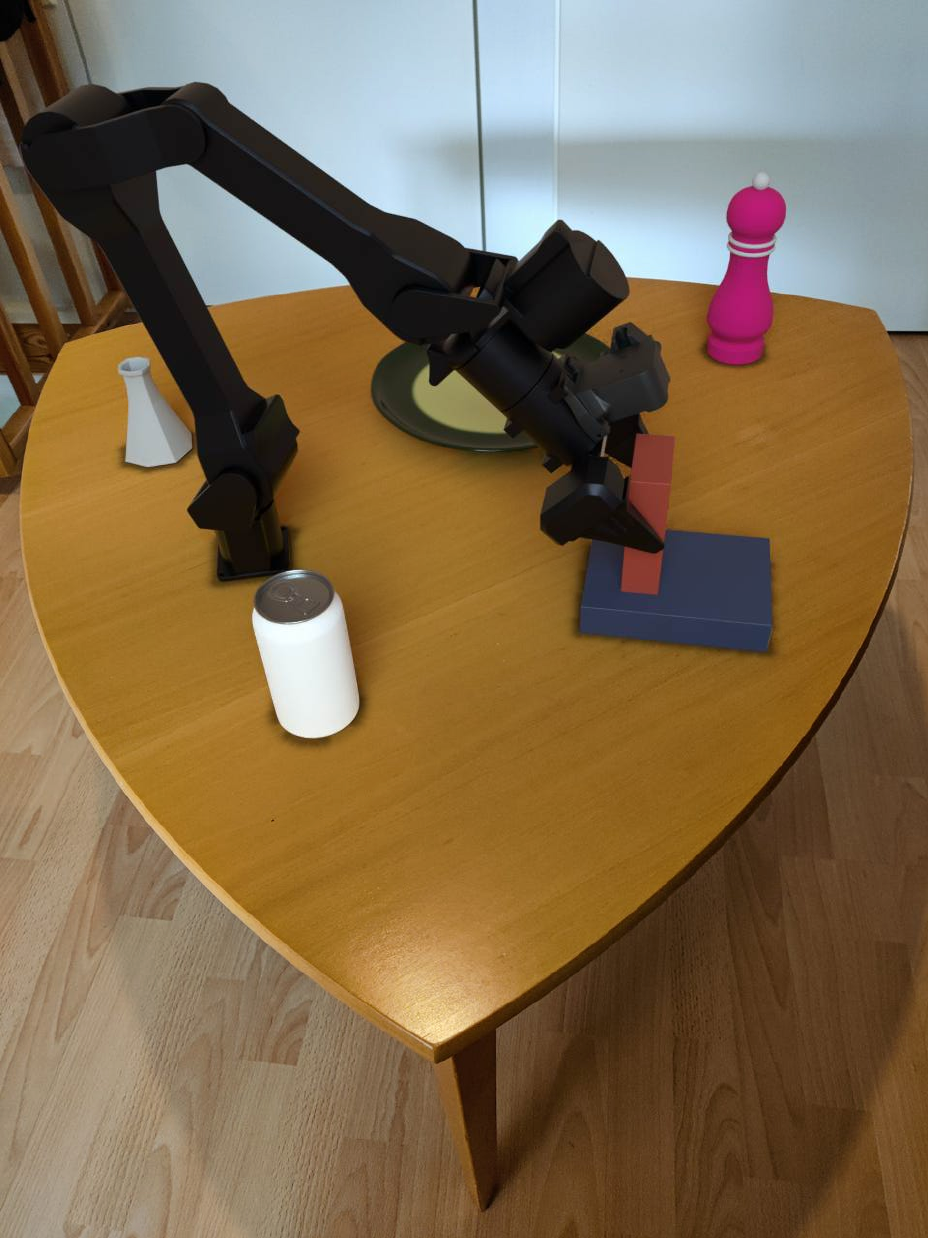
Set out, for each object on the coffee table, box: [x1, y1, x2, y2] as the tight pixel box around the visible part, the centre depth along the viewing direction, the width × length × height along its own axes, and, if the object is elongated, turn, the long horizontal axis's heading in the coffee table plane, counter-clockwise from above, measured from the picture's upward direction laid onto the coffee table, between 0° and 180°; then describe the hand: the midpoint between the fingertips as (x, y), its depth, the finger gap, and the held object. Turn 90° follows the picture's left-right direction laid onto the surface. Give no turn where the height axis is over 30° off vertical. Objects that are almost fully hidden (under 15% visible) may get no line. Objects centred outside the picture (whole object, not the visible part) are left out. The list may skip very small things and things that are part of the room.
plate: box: [370, 332, 611, 453], centre depth 109 cm, size 28×28×2 cm
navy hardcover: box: [579, 529, 773, 653], centre depth 84 cm, size 15×11×3 cm
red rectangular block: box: [621, 433, 676, 595], centre depth 80 cm, size 3×6×11 cm, turn 169°
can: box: [251, 568, 360, 739], centre depth 73 cm, size 6×6×12 cm
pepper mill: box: [706, 171, 787, 366], centre depth 108 cm, size 7×7×20 cm
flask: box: [117, 356, 193, 468], centre depth 102 cm, size 7×7×10 cm
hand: (663, 513), depth 79 cm, fingers open, 9 cm apart
